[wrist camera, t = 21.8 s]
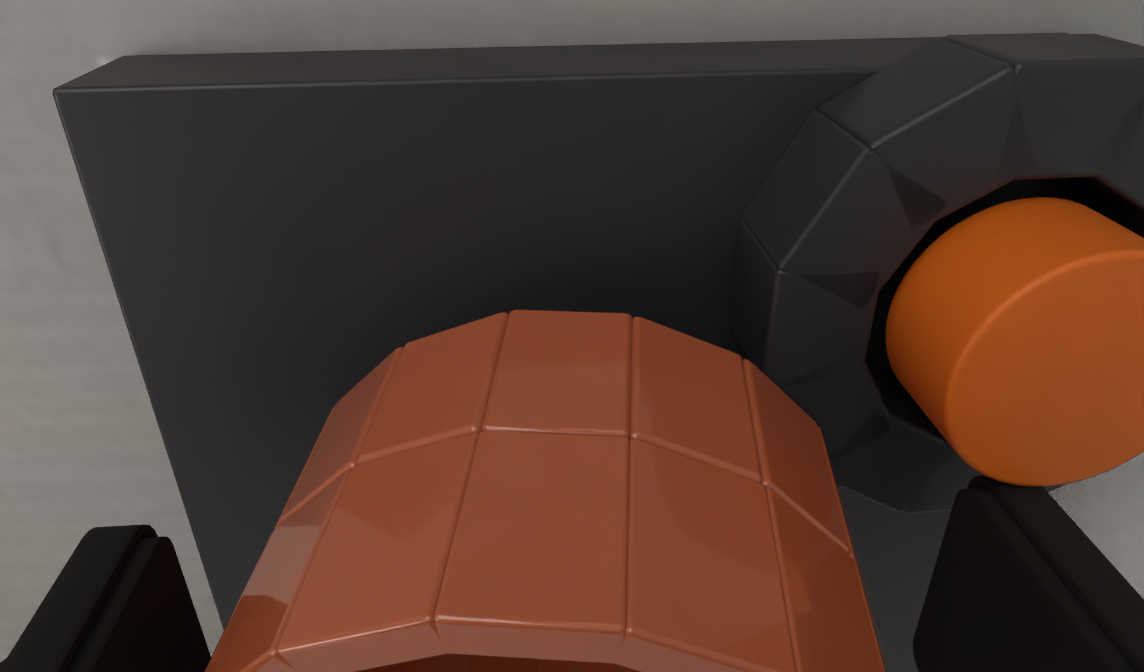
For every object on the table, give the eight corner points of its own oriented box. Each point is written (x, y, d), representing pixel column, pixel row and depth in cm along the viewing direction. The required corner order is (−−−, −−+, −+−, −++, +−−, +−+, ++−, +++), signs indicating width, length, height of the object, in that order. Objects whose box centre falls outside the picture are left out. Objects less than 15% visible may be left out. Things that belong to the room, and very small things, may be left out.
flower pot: (280, 275, 9) (52, 596, 6) (882, 293, 9) (1042, 654, 5) (371, 630, 13) (269, 953, 10) (791, 655, 13) (848, 1004, 9)
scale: (112, 26, 10) (-53, 89, 7) (1128, 5, 11) (1369, 54, 8) (298, 710, 17) (254, 896, 14) (924, 663, 18) (1014, 827, 15)
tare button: (908, 199, 9) (984, 258, 7) (1157, 190, 9) (1275, 246, 7) (864, 415, 10) (920, 498, 9) (1080, 402, 10) (1168, 482, 9)
